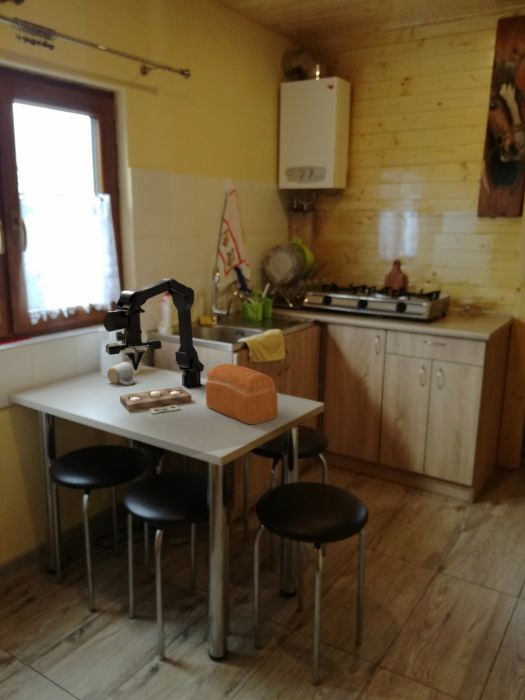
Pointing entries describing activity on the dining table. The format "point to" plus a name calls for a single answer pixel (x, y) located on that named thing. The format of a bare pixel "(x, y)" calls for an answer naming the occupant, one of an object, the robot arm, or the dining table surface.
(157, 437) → the dining table surface
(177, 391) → the white egg
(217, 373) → the bread
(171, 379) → the dining table surface
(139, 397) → the cream egg
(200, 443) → the dining table surface
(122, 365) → the ceramic mug
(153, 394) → the off-white egg
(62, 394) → the dining table surface
